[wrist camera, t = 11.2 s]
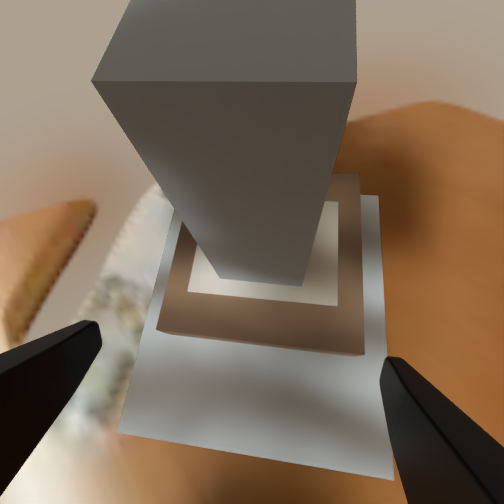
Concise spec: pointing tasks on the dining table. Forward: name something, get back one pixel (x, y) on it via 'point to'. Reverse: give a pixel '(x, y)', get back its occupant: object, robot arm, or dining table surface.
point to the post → (237, 119)
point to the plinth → (271, 350)
